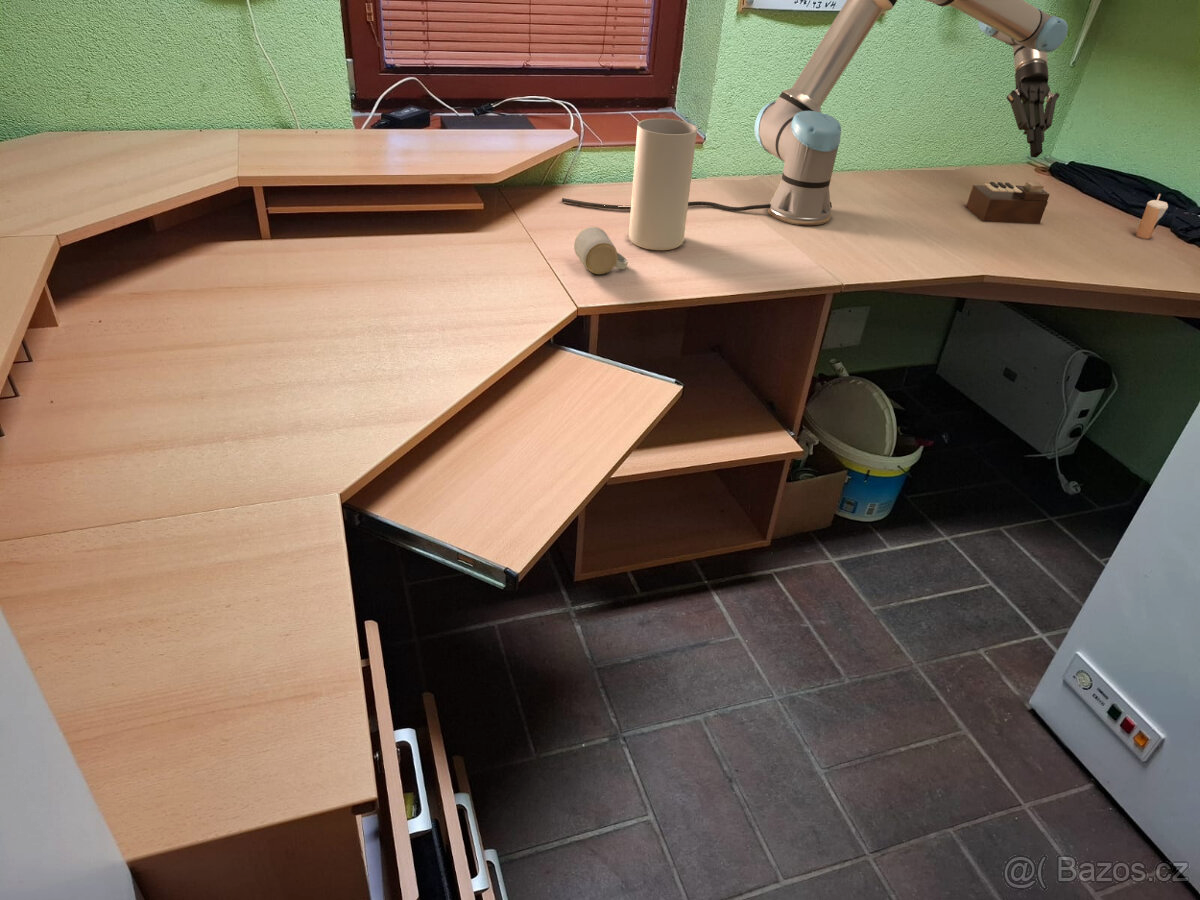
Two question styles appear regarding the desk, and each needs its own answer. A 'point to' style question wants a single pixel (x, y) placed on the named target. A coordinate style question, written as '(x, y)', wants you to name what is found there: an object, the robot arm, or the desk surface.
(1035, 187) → the key
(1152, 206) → the milkshake
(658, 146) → the cylinder vase
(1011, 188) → the keyboard
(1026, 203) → the piano
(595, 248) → the ceramic mug
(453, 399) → the desk surface
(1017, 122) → the robot arm
